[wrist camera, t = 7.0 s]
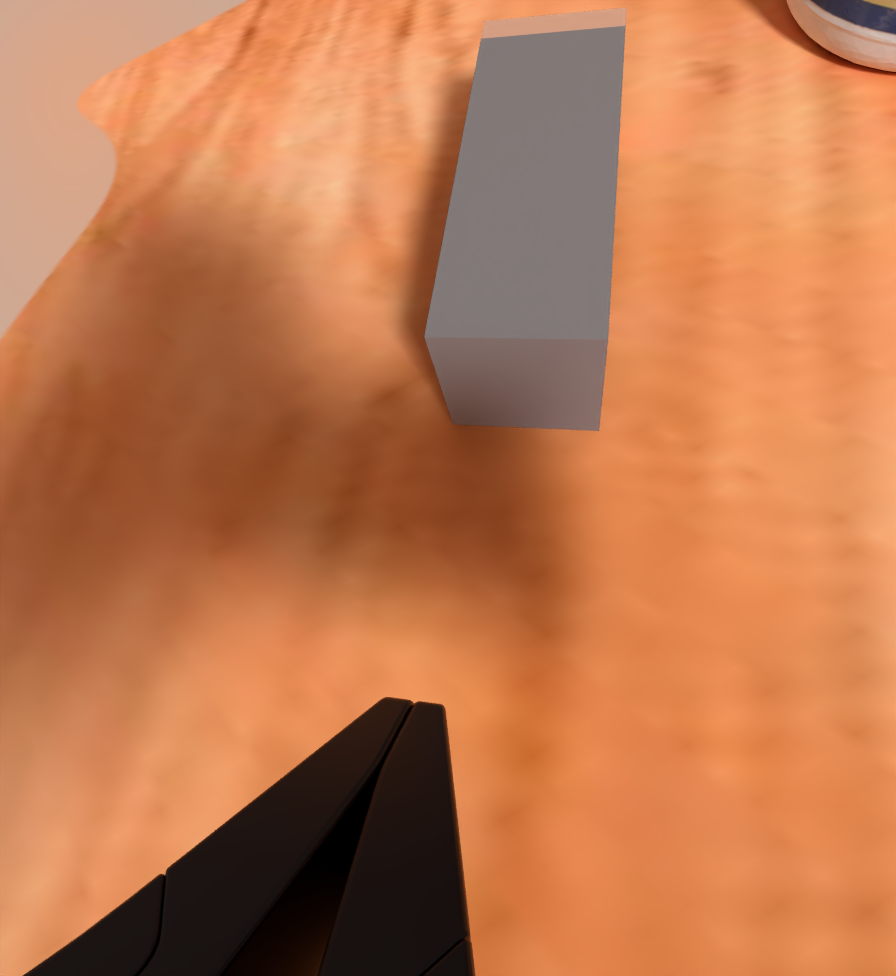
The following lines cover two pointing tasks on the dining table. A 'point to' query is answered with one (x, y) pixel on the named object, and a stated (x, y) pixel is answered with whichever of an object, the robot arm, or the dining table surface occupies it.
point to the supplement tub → (851, 29)
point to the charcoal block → (532, 226)
